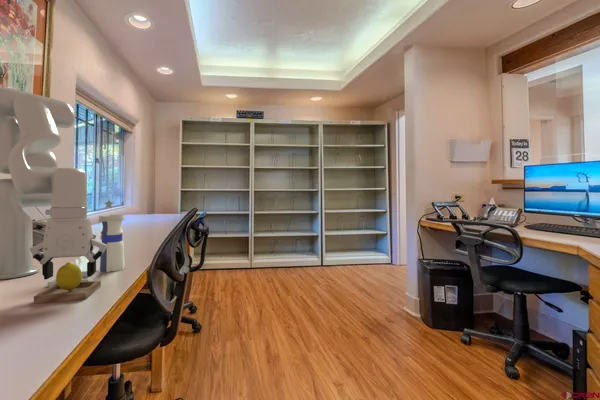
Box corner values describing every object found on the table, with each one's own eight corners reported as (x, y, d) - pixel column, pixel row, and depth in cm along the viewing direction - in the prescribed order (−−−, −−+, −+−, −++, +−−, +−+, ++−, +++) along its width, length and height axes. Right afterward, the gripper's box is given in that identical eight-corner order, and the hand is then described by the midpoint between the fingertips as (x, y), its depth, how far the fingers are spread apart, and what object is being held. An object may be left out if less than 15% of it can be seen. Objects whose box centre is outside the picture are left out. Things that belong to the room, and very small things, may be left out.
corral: (47, 286, 85) (47, 281, 85) (64, 276, 95) (64, 272, 95) (88, 283, 88) (88, 279, 88) (100, 274, 98) (100, 270, 98)
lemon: (68, 295, 76) (66, 265, 76) (51, 294, 77) (49, 265, 77) (88, 288, 82) (86, 260, 81) (72, 287, 83) (69, 259, 83)
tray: (33, 303, 73) (33, 296, 73) (56, 289, 83) (56, 283, 83) (85, 299, 76) (85, 292, 76) (100, 286, 86) (100, 280, 86)
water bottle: (91, 271, 102) (90, 199, 101) (113, 265, 110) (113, 199, 109) (109, 273, 100) (109, 200, 99) (130, 267, 108) (130, 199, 107)
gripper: (21, 215, 73) (22, 283, 73) (101, 214, 78) (101, 278, 78) (38, 213, 80) (39, 275, 80) (110, 212, 85) (111, 271, 85)
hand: (70, 276), depth 79 cm, fingers open, 9 cm apart
